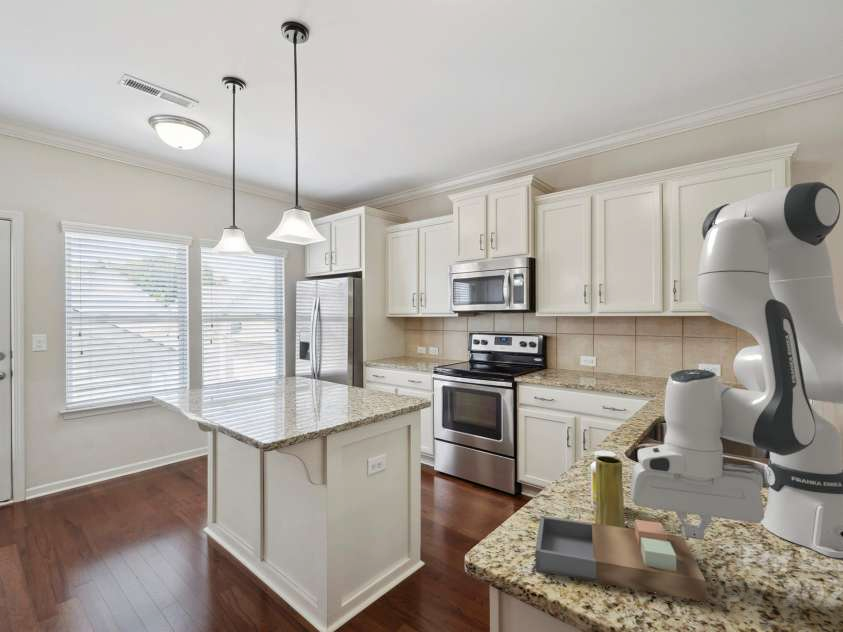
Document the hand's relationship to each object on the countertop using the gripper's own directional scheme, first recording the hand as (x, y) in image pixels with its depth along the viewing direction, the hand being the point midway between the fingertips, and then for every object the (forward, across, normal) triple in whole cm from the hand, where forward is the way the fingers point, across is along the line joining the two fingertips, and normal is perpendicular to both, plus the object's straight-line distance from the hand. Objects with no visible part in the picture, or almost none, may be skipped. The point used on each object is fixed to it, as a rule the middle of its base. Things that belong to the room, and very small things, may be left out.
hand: (693, 537), depth 74 cm
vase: (+6, +13, -12) cm, 18 cm away
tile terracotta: (+2, +7, 0) cm, 7 cm away
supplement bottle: (+6, +13, -21) cm, 25 cm away
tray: (+6, +22, +3) cm, 23 cm away
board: (+6, +9, +3) cm, 11 cm away
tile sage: (+2, +7, +7) cm, 10 cm away
